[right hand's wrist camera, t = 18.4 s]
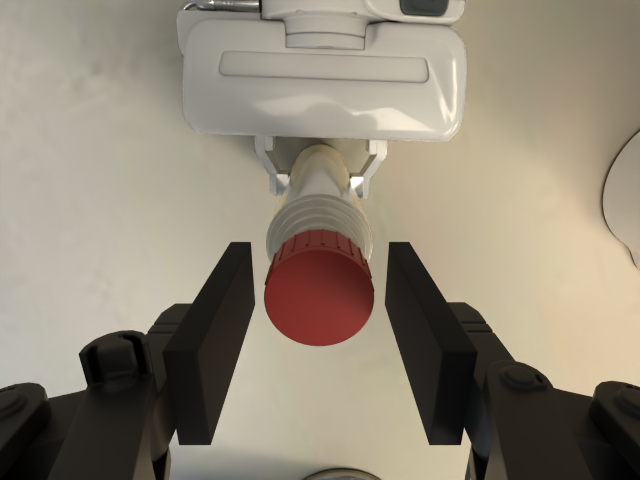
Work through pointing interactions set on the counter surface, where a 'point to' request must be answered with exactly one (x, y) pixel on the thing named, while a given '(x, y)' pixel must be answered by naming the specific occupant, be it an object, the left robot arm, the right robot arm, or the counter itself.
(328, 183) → the bottle
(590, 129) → the counter surface
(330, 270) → the cap
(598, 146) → the counter surface
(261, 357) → the counter surface
